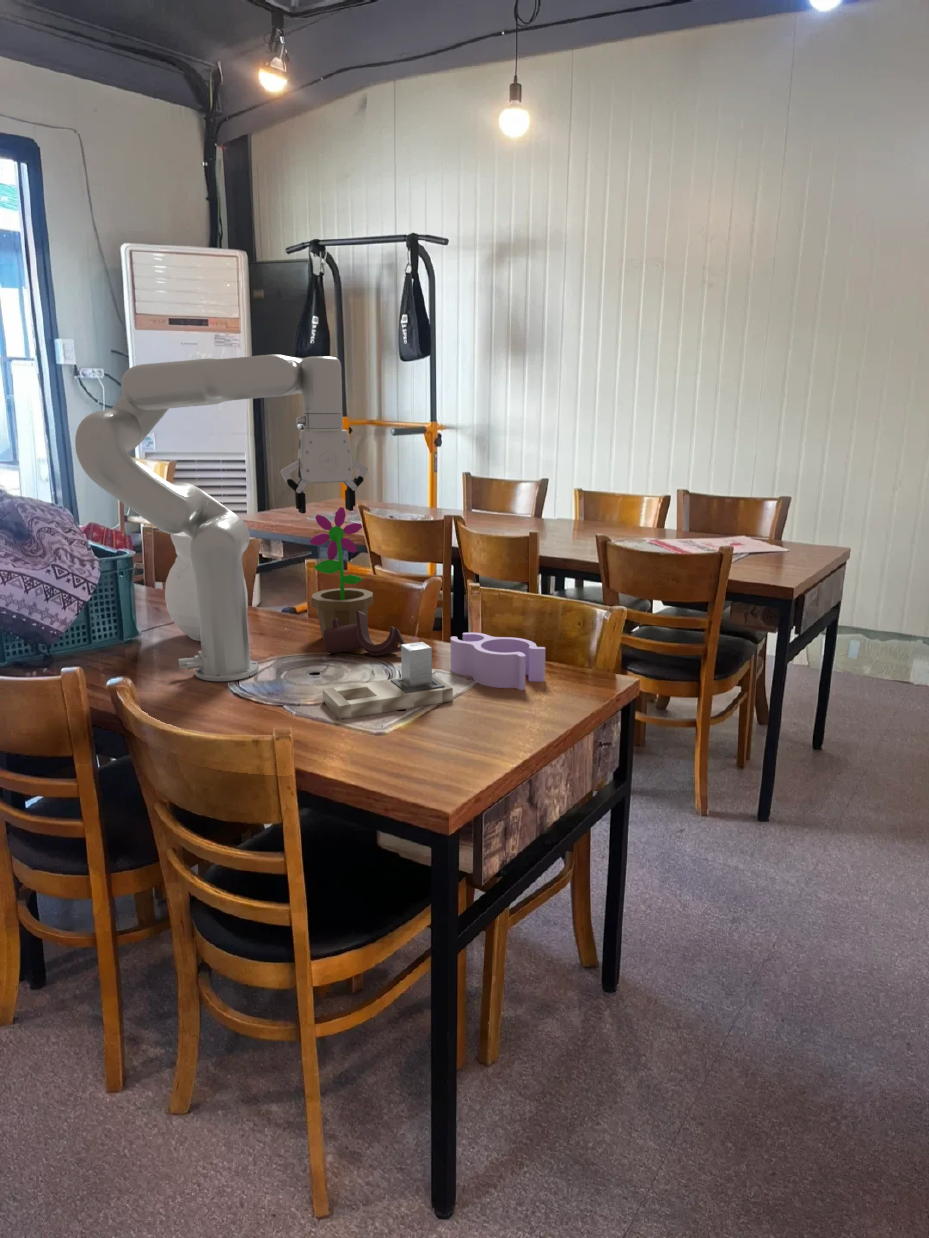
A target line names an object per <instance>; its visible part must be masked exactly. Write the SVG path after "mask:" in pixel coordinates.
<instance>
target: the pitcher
mask: <svg viewBox="0 0 929 1238" xmlns="http://www.w3.org/2000/svg"><path fill="white" fill-rule="evenodd" d="M169 535H170V538H171V542H172V545H173V546H174V548H175V554H176V558H175V559H174V563H173V565H172V566H171V568H170V569H169V572H168V575H167V578H166V580H165V586H164V587H165V590H164V598H165V605H166V608H167V611H168V614H169V617H170V619H171V621H173V622H174V624H175V625H176V626H177V627H178V628H179V630H180V631H181V632H182V633H184V634H185V635H187V636H188V637H189V638H190V639H191V640H194V641H195V642H201V638H200V626H199V614H198V601H197V592H196V582H195V575H194V569H193V564H192V559H191V552H190V546H191V540H192V538H191V537H190V536H189V535H187V534H186V533H184V532H181V533H178V534H169ZM244 581H245V592H246V604H247V609H248V607H249V606H248V605H249V600H248V599H249V598H248V595H249V594H248V588H247V584H246V578H244Z"/></svg>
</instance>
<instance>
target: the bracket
mask: <svg viewBox="0 0 929 1238" xmlns="http://www.w3.org/2000/svg"><path fill="white" fill-rule="evenodd" d="M368 625H369V624H368V617H367V618H366V614H364V613H362V612H360V611H356V624H351V625H346V626H341V627H340V622H339V619H338V618H335V619H332V627H333V628H330V629H325V630H324V631H323V640H322V641H323V645H324V648H325V651H326V653H327V654H328V653H333V654H337V653H338V652H339V653H343V652H348V651H353V650H358V649H359V650H360V649H362V650H364V651H365V652H367V653H368V654H370V655H371V656H373V657H374V656H375V657H376V656H377V657H378V656H383V655H388V654H393V653H399V652H400V653H401V645H402V644H406V642H405V641H404V640H405V639H404V638H403V635H402V634H401V631H400V630H399V629H398V628H397V627H394V626H393V625H390V626H389V633H388V636H387V637H386V640H384V641H383V642H380V643H378V644H376V643H375V644H374V643H373V641H372V639H371V637H370V631H369V627H368ZM399 645H400V646H399ZM339 653H338V654H339Z"/></svg>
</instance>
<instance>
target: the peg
mask: <svg viewBox="0 0 929 1238" xmlns="http://www.w3.org/2000/svg"><path fill="white" fill-rule="evenodd" d="M400 646H401V651H400V654H401V656H400V658H401V659H400V660H401V661H400V662H401V678H402V684H403V685H404V686H405V687H407V688H408V689H415V688H421V687H428V686H432V674H433V655H432V654H433V653H432V652H433V651H432V650H433V647H431V646H430V645H428V644H427V643H425V642H424V641H420V642H418V641H417V642H411V643H405V644H402V645H401V644H400Z"/></svg>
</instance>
